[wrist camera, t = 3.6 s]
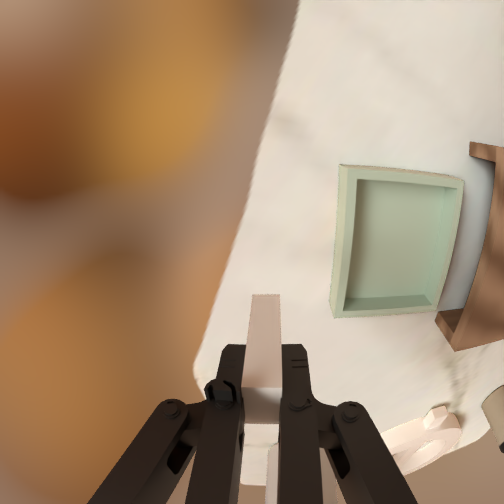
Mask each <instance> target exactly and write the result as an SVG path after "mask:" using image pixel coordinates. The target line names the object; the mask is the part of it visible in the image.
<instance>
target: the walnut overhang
mask: <svg viewBox="0 0 504 504" xmlns="http://www.w3.org/2000/svg"><path fill="white" fill-rule="evenodd" d="M469 155H470V156H474V157H478V158H482V159H486V160H489V161H493V162H496V167H495V179H494V188H493V196H492V203H491V209H490V215H489V221H488V226H487V231H486V236H485V240H484V245H483V249H482V253H481V257H480V261H479V264H478V268H477V271H476V275H475V278H474V281H473V284H472V287H471V290H470V293H469V296H468V299H467V302H466V305H465V307H464V308H463V309H456V310H448V311H440V312H438V314H437V317H436V319H435V322H436V324H437V325H438V327H439V328H440V330H441V331H442V333H443V334H444V336H445V337H446V339H447V341H448V342H449V344H450V345H451V347H452V348H453V350H454V352H456V351H460V350H465V349H469V348H473V347H477V346H481V345H484V344H488V343H491V342H495V341H498V340H502V339H504V148H503V147H498V146H493V145H487V144H482V143H476V142H470V150H469Z"/></svg>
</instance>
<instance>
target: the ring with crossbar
mask: <svg viewBox="0 0 504 504" xmlns="http://www.w3.org/2000/svg"><path fill="white" fill-rule="evenodd" d="M380 435H381V437H382V439H383V440H384V442H385V444H386V446H387V448H388V449H389V451H390V453H391V455H394V454H395V455H394V456H393V458H394V460H395V462H396V464H397V466H398V468H399V469H400V471H401V473H402V475H406V474H409V473H411V472H414V471H416V470H418V469H420V468H422V467H424V466H426V465H428V464H430V463H431V462H433V461H435V460H436V459H438V458H439V457H441V456H442V455H444V454H445V453H446V452H448V451H449V450H450V449H451V448H452V447H453V446H454V445H455V444H456V443H457V442H458V441H459V439H460V438H461V436H462V430H461V428H460V425H459V423H458V420H457V418H456V416H455V415H454V414H452V413H448V412H447V410H446V407H445V406H441V407H437V408H434V409H431V410H430V412H429V413H428V414H427V416H424V417H420V418H417V419H414V420H412V421H409V422H406V423H404V424H401V425H399V426H396V427H394V428H392V429H389V430H387V431H385V432H383V433H381V434H380ZM429 441H432V442H431V443H429V444H428V445H427V446H425V447H424V448H422V449H421V450H419V451H417V450H418V449H419V448H420V447H421V446H422V445H423V444H424V443H425V442H429ZM416 451H417V452H416Z"/></svg>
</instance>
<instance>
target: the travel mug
mask: <svg viewBox="0 0 504 504" xmlns="http://www.w3.org/2000/svg"><path fill="white" fill-rule="evenodd" d="M482 410H483V412H484V414H485V416H486V418H487V420H488V422H489V424H490V427H491V429H492V431H493V433H494V436H495V438H496V440H497V443H498V445H499V448H500V450H501V452H502V453H504V386H501V387H499V388H498V389H496V390H495V391H494V392H492V393H491V394H490V395H489V396H488V397H487V398H486V400H485V401H484V402H483V404H482Z"/></svg>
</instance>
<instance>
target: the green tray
mask: <svg viewBox="0 0 504 504" xmlns="http://www.w3.org/2000/svg"><path fill="white" fill-rule="evenodd" d="M463 188H464V181H463V180H460V179H458V178H455V177H452V176H449V175H444V174H437V173H430V172H422V171H414V170H405V169H396V168H385V167H373V166H359V165H342V164H339V182H338V205H337V223H336V237H335V249H334V260H333V270H332V280H331V288H330V297H329V303H330V307H331V310H332V314H333V317H334V318H351V317H369V316H384V315H397V314H409V313H419V312H429V311H436V309H437V306H438V303H439V299H440V296H441V293H442V290H443V286H444V283H445V280H446V276H447V272H448V269H449V265H450V261H451V257H452V252H453V248H454V243H455V239H456V234H457V228H458V223H459V217H460V211H461V204H462V196H463Z"/></svg>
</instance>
